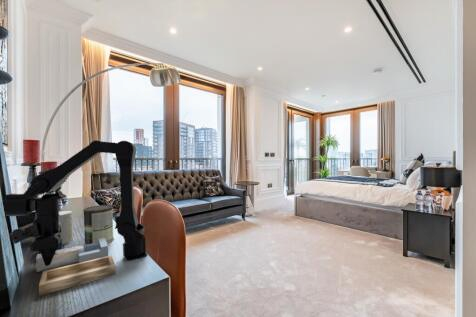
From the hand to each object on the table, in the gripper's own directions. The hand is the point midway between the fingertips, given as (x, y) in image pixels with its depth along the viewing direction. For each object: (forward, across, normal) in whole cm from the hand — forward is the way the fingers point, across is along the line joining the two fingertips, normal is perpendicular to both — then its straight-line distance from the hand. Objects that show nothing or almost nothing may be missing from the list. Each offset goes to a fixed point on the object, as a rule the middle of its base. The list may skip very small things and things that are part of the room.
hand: (48, 262), depth 73 cm
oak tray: (+1, +14, +8) cm, 16 cm away
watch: (+2, -17, 0) cm, 17 cm away
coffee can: (+2, -16, +15) cm, 22 cm away
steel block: (+1, 0, +3) cm, 3 cm away
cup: (+2, -26, +2) cm, 26 cm away
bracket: (+1, 0, +11) cm, 11 cm away
